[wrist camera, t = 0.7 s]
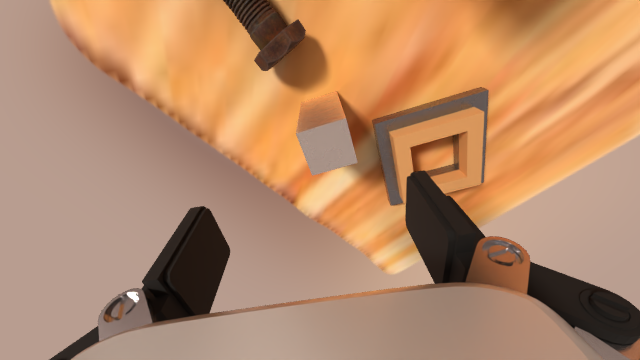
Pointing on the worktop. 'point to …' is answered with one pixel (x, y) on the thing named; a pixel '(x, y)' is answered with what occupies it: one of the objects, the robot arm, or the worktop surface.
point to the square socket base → (428, 125)
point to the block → (325, 134)
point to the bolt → (267, 30)
